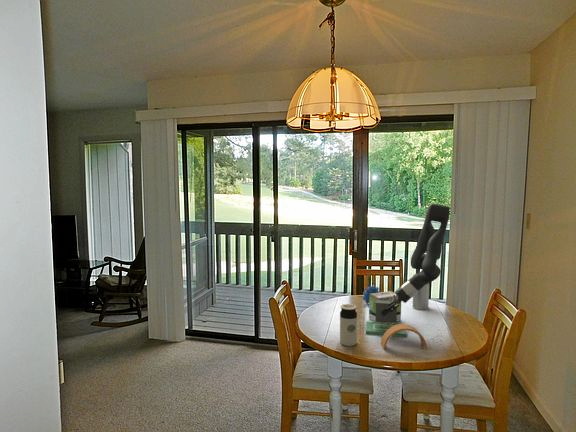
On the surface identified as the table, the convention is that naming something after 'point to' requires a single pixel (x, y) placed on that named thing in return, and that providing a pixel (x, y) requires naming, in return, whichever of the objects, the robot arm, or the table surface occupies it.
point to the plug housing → (389, 317)
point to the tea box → (385, 297)
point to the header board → (382, 328)
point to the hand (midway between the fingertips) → (382, 312)
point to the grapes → (370, 292)
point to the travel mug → (348, 325)
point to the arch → (396, 329)
